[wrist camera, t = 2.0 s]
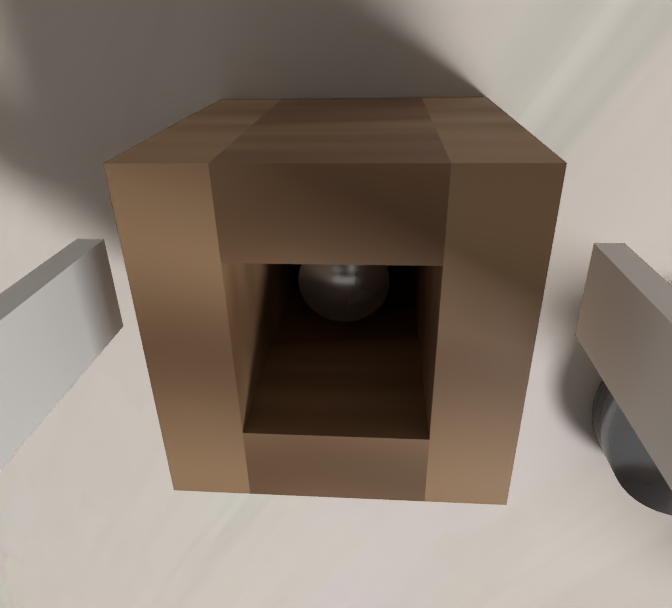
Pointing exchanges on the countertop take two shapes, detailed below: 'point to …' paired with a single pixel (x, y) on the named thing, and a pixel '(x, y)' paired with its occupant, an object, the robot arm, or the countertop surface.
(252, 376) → the collar
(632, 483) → the hub
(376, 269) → the grey rounded piece
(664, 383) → the robot arm
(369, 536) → the countertop surface
